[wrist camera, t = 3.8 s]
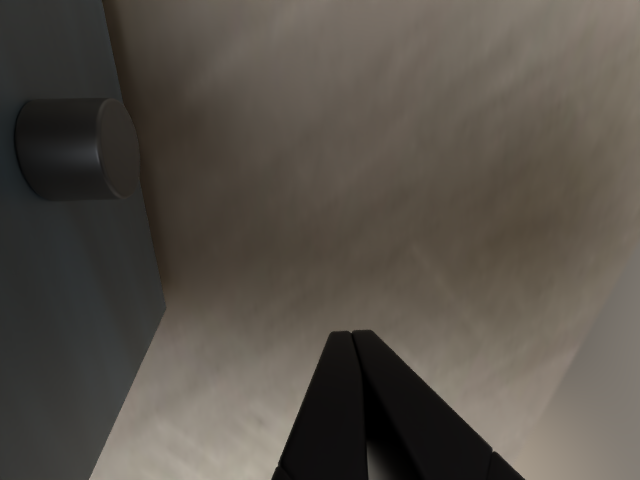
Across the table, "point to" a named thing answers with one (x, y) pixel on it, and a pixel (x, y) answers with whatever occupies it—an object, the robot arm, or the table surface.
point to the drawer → (67, 241)
